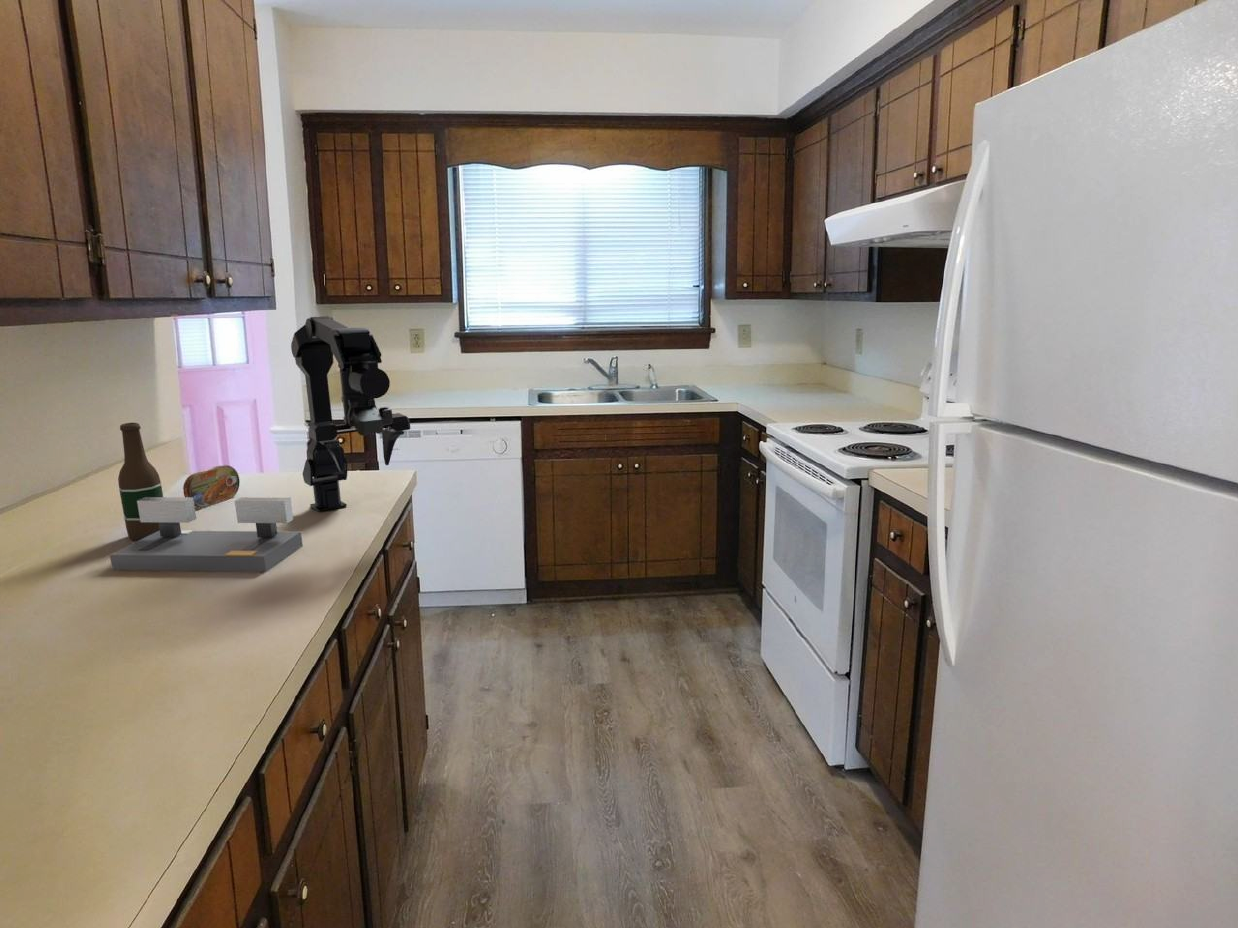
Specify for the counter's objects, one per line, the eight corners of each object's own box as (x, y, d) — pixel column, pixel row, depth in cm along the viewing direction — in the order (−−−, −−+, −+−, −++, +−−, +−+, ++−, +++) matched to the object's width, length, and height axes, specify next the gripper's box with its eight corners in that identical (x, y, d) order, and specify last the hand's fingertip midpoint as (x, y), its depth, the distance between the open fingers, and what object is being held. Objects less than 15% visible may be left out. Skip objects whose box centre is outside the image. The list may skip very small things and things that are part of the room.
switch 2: (246, 533, 156) (241, 497, 154) (295, 533, 155) (290, 497, 153) (239, 537, 154) (234, 500, 152) (289, 537, 153) (284, 501, 151)
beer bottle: (119, 538, 166) (98, 425, 160) (155, 527, 172) (136, 419, 167) (141, 543, 162) (121, 428, 156) (177, 532, 169) (159, 421, 163)
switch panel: (161, 544, 161) (158, 529, 160) (302, 545, 158) (300, 530, 157) (112, 569, 147) (109, 553, 147) (266, 571, 145) (263, 555, 144)
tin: (194, 511, 184) (188, 476, 182) (183, 511, 185) (178, 476, 183) (242, 494, 198) (238, 461, 196) (232, 493, 199) (227, 461, 197)
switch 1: (151, 532, 158) (145, 497, 156) (198, 533, 157) (193, 497, 155) (143, 536, 156) (136, 500, 154) (191, 537, 155) (185, 500, 153)
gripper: (319, 402, 146) (328, 484, 149) (417, 392, 156) (423, 469, 160) (304, 395, 155) (313, 472, 158) (397, 386, 165) (403, 458, 169)
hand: (364, 468), depth 161 cm, fingers open, 9 cm apart
